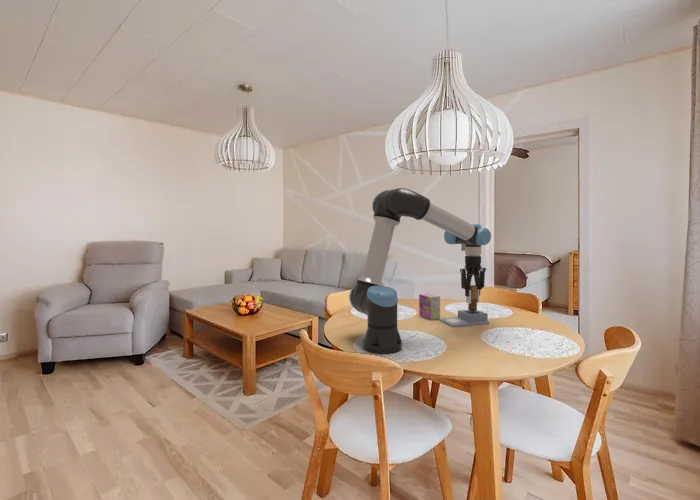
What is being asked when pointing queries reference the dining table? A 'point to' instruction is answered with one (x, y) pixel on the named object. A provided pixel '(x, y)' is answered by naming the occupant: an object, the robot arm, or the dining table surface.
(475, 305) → the peg
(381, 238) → the robot arm
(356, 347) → the dining table surface
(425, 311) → the box
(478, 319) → the socket board
